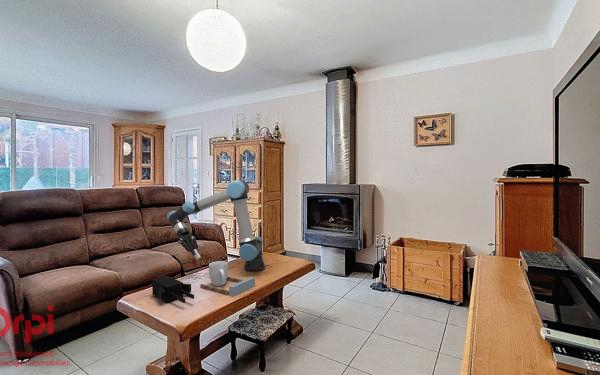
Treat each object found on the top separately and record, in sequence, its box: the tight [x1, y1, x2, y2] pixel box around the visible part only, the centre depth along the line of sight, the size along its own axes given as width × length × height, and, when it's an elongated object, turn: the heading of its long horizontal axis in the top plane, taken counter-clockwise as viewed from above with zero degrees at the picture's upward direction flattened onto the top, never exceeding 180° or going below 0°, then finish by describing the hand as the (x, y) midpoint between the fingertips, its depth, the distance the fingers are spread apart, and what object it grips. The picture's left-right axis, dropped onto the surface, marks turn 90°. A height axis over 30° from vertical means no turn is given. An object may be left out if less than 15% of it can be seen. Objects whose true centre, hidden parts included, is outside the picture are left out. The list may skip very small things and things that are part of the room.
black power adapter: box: [151, 275, 195, 304], centre depth 159 cm, size 16×9×30 cm
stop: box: [228, 276, 256, 297], centre depth 171 cm, size 3×18×5 cm, turn 148°
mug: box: [208, 260, 229, 287], centre depth 180 cm, size 15×11×13 cm
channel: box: [199, 275, 244, 296], centre depth 178 cm, size 23×19×2 cm
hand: (198, 258), depth 190 cm, fingers closed
